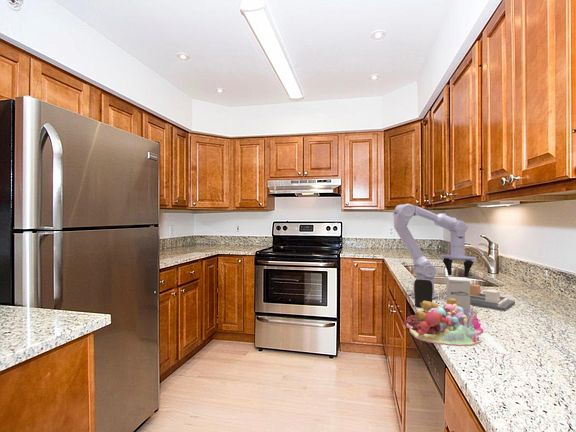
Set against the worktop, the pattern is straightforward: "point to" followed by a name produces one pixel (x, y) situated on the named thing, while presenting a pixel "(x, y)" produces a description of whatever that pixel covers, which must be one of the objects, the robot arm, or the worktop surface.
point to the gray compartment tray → (481, 302)
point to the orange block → (475, 290)
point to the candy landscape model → (445, 324)
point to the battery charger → (423, 291)
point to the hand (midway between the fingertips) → (457, 276)
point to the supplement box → (459, 291)
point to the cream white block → (492, 296)
